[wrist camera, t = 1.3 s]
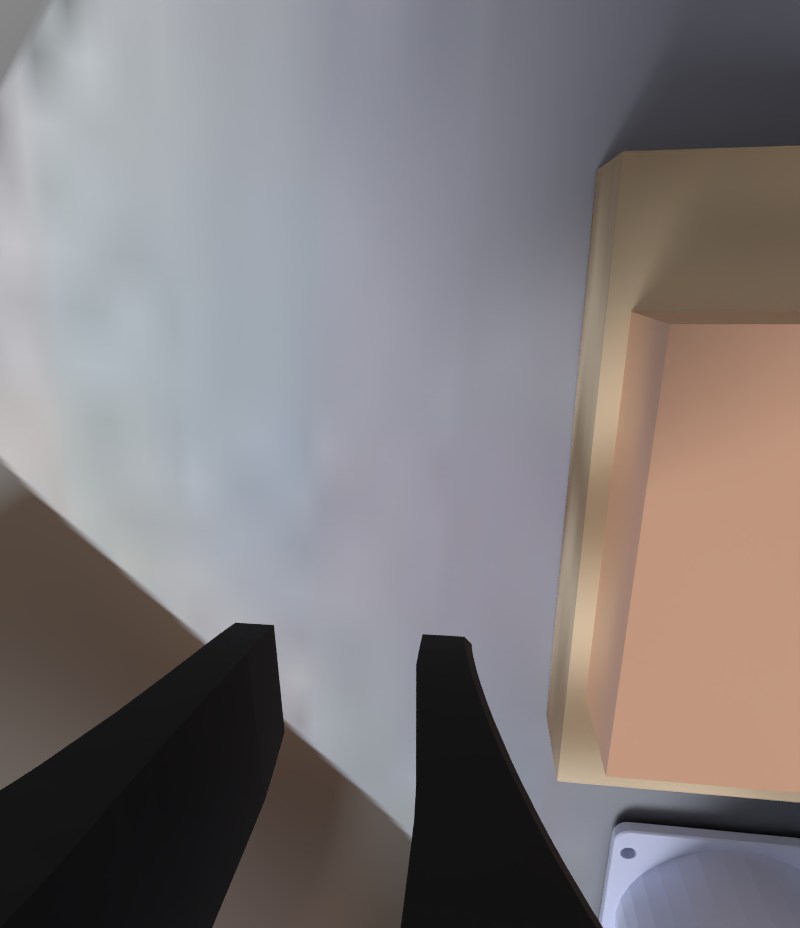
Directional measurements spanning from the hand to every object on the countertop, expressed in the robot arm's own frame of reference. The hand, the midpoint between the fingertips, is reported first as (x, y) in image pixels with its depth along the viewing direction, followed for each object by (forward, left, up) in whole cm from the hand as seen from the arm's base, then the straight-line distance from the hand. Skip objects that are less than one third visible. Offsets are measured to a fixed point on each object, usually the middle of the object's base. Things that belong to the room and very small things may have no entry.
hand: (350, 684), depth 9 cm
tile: (0, -8, -6) cm, 10 cm away
